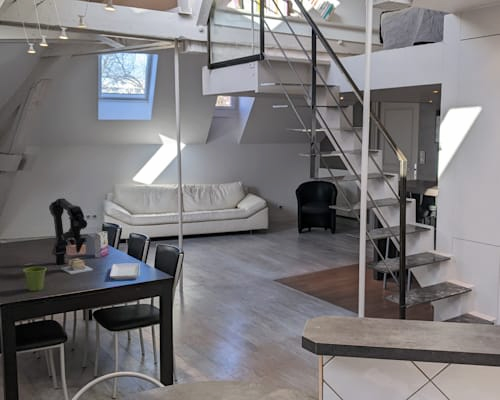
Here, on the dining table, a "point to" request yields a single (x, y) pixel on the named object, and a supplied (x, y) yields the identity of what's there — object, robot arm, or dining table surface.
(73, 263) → the brick
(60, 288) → the dining table surface
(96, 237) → the candy bar box
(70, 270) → the blueprint board
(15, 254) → the dining table surface
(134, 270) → the tray
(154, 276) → the dining table surface
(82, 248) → the brick
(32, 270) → the plant pot
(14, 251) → the dining table surface
